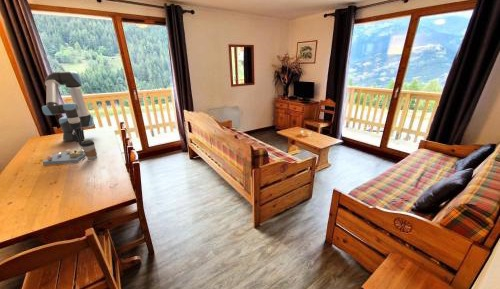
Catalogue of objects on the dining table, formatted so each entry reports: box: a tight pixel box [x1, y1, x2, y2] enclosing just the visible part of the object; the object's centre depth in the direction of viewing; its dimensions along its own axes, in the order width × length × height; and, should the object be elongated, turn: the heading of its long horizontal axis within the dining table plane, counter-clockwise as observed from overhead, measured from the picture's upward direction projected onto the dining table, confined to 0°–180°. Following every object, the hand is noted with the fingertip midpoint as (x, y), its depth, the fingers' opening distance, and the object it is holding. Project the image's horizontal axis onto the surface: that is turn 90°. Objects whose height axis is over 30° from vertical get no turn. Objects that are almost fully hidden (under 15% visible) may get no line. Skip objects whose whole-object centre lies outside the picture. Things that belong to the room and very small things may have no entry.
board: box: [42, 150, 87, 166], centre depth 169 cm, size 17×24×2 cm
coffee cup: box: [81, 139, 98, 162], centre depth 166 cm, size 8×8×15 cm
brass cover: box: [69, 149, 83, 157], centre depth 169 cm, size 6×6×4 cm
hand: (83, 148), depth 178 cm, fingers closed
